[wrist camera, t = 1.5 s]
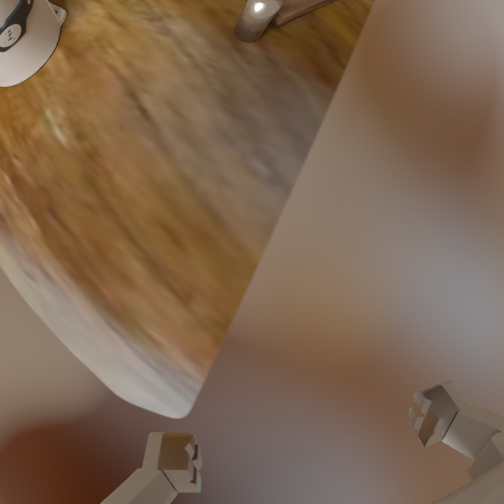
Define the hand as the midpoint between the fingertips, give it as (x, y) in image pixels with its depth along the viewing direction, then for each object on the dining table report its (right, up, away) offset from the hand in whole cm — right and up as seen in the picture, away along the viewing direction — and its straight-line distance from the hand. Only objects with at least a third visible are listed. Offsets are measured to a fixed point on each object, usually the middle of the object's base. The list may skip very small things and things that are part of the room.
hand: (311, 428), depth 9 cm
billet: (-3, +42, +30) cm, 52 cm away
